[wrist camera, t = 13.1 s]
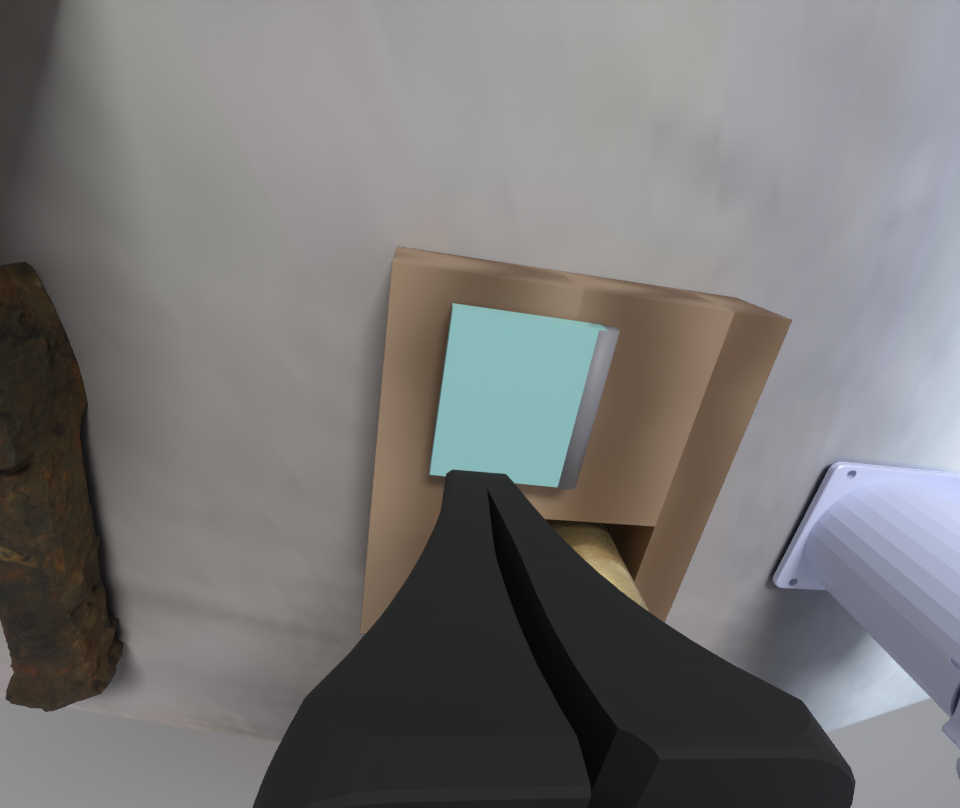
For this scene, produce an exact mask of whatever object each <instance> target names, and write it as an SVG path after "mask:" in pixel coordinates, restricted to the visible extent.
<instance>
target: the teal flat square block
mask: <svg viewBox="0 0 960 808" xmlns="http://www.w3.org/2000/svg"><path fill="white" fill-rule="evenodd" d="M619 333H620V330H619V329H617V328H615V327H612V326H609V325H605V324H599V323H587V322H580V321H573V320H566V319H560V318H553V317H546V316H539V315H532V314H525V313H518V312H511V311H504V310H497V309H490V308H483V307H476V306H469V305H462V304H455V303H452V310H451V317H450V324H449V331H448V338H447V346H446V353H445V360H444V367H443V374H442V382H441V389H440V396H439V403H438V410H437V417H436V425H435V432H434V439H433V446H432V453H431V461H430V475H438V476H446V473H448V472H449V471H451V470H452V469H453V470H465V471H477V472H489V473H502V474H507V475H508V477H509V478H510V479H511V480H512V481H513V482H514V483H518V484H528V485H538V486H548V487H558V488H560V489H564V490H572V489H574V488H575V487H576V485H577V481H578V478H579V474H580V471H581V467H582V464H583V460H584V457H585V453H586V450H587V446H588V442H589V439H590V435H591V432H592V428H593V425H594V421H595V418H596V414H597V411H598V407H599V404H600V400H601V396H602V393H603V389H604V386H605V382H606V379H607V375H608V372H609V368H610V365H611V361H612V357H613V354H614V350H615V347H616V343H617V340H618V336H619Z"/></svg>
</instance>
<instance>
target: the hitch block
mask: <svg viewBox="0 0 960 808" xmlns="http://www.w3.org/2000/svg"><path fill="white" fill-rule="evenodd" d="M452 303H455V304H462V305H469V306H476V307H483V308H490V309H497V310H504V311H511V312H518V313H525V314H532V315H539V316H546V317H553V318H560V319H566V320H573V321H580V322H587V323H599V324H605V325H609V326H612V327H615V328H617V329H619V330H620V333H619V336H618V340H617V343H616V347H615V350H614V354H613V357H612V361H611V365H610V368H609V372H608V375H607V379H606V382H605V386H604V389H603V393H602V396H601V400H600V404H599V407H598V411H597V414H596V418H595V421H594V425H593V428H592V432H591V435H590V439H589V442H588V446H587V450H586V453H585V457H584V460H583V464H582V467H581V471H580V474H579V478H578V481H577V485H576V487H575V488H574V489H572V490H564V489H560V488H558V487H548V486H538V485H528V484H518V483H514V484H515V485H516V486H517V487H518V488H519V490H520V491H521V492H522V493H523V494H524V496H525V497H526V498H527V499H528V500H529V502H530V503H531V504H532V505H533V506H534V507H535V509H536V510H537V511H538V512H539V513H540V514H541V515H542V517H543V518H544V519H552V520H567V521H582V522H596V523H610V526H609V529H608V533H609V535H610V537H611V538H612V540H613V542H614V544H615V546H616V548H617V550H618V552H619V554H620V556H621V558H622V560H623V562H624V564H625V565H626V567H627V569H628V571H629V573H630V575H631V577H632V579H633V581H634V583H635V585H636V587H637V589H638V590H639V592H640V594H641V596H642V598H643V600H644V602H645V604H646V606H647V608H648V610H649V612H650V613H651V614H653V615H654V616H656V617H657V618H659V619H660V620H661V621H663V622H664V623H665V620H666V618H667V615H668V613H669V611H670V608H671V606H672V604H673V601H674V599H675V596H676V594H677V592H678V589H679V587H680V585H681V582H682V580H683V578H684V575H685V573H686V570H687V568H688V566H689V563H690V561H691V559H692V556H693V554H694V551H695V549H696V547H697V544H698V542H699V540H700V537H701V535H702V533H703V530H704V528H705V525H706V523H707V521H708V518H709V516H710V514H711V511H712V509H713V507H714V504H715V502H716V499H717V497H718V495H719V492H720V490H721V488H722V485H723V483H724V480H725V478H726V476H727V473H728V471H729V469H730V466H731V464H732V462H733V459H734V457H735V454H736V452H737V450H738V447H739V445H740V443H741V440H742V438H743V436H744V433H745V431H746V428H747V426H748V424H749V421H750V419H751V417H752V414H753V412H754V409H755V407H756V405H757V402H758V400H759V398H760V395H761V393H762V391H763V388H764V386H765V383H766V381H767V379H768V376H769V374H770V372H771V369H772V367H773V364H774V362H775V360H776V357H777V355H778V353H779V350H780V348H781V346H782V343H783V341H784V338H785V336H786V334H787V331H788V329H789V327H790V324H791V322H792V320H791V319H788V318H786V317H783V316H781V315H778V314H776V313H773V312H771V311H768V310H766V309H763V308H761V307H758V306H755V305H753V304H750V303H748V302H745V301H743V300H740V299H738V298H734V297H727V296H721V295H714V294H708V293H701V292H694V291H688V290H681V289H675V288H668V287H661V286H655V285H648V284H642V283H635V282H628V281H622V280H615V279H609V278H602V277H595V276H589V275H582V274H576V273H569V272H562V271H556V270H549V269H542V268H536V267H529V266H523V265H516V264H509V263H503V262H496V261H490V260H483V259H476V258H470V257H463V256H457V255H450V254H443V253H437V252H430V251H424V250H417V249H410V248H404V247H397V250H396V253H395V255H394V258H393V261H392V271H391V283H390V294H389V306H388V317H387V329H386V340H385V352H384V363H383V375H382V386H381V398H380V409H379V421H378V432H377V444H376V455H375V467H374V478H373V490H372V501H371V513H370V524H369V536H368V547H367V559H366V570H365V582H364V593H363V605H362V616H361V628H360V634H366V633H367V632H368V631H369V629H370V628H371V627H372V626H373V625H374V623H375V622H376V621H377V620H378V619H379V617H380V616H381V615H382V614H383V612H384V611H385V610H386V608H387V607H388V606H389V604H390V603H391V601H392V600H393V599H394V597H395V596H396V594H397V593H398V591H399V590H400V588H401V587H402V585H403V584H404V583H405V581H406V579H407V578H408V576H409V575H410V573H411V571H412V570H413V568H414V566H415V565H416V563H417V561H418V559H419V557H420V556H421V554H422V552H423V550H424V548H425V546H426V544H427V542H428V540H429V537H430V535H431V533H432V531H433V529H434V527H435V524H436V522H437V519H438V516H439V514H440V511H441V504H442V498H443V492H444V485H445V479H446V476H438V475H430V461H431V453H432V446H433V439H434V432H435V425H436V417H437V410H438V403H439V396H440V389H441V382H442V374H443V367H444V360H445V353H446V346H447V338H448V331H449V324H450V317H451V310H452Z"/></svg>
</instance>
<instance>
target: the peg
mask: <svg viewBox="0 0 960 808" xmlns="http://www.w3.org/2000/svg"><path fill="white" fill-rule="evenodd" d="M545 520H546V521H547V522H548V523H549V524H550V525H551V527H552V528H553V529H554V530H555V531H556V532H557V533H558V534H559V535H560V536H561V537H562V538H563V539H564V540H565V541H566V542H567V543H568V544H569V545H570V546H571V547H572V548H573V549H574V550H575V551H576V552H577V553H578V554H579V555H580V556H581V557H582V558H583V559H584V560H585V561H586V562H587V563H589V564H590V565H591V566H592V567H593V568H594V569H595V570H596V571H597V572H599V573H600V574H601V575H602V576H604V577H605V578H606V579H607V580H608V581H610V582H611V583H612V584H613V585H614V586H616V587H617V588H618V589H619V590H620V591H622V592H623V593H624V594H625V595H627V596H628V597H629V598H631V599H632V600H633V601H635V602H636V603H637V604H639V605H640V606H641V607H643V608H644V609H646V610H647V611H649V610H648V608H647V606H646V604H645V602H644V600H643V598H642V596H641V594H640V592H639V590H638V589H637V587H636V585H635V583H634V581H633V579H632V577H631V575H630V573H629V571H628V569H627V567H626V565H625V564H624V562H623V560H622V558H621V556H620V554H619V552H618V550H617V548H616V546H615V544H614V542H613V540H612V538H611V537H610V535H609V533H608V531H607V529H606V527H605V525H604V523H596V522H582V521H567V520H552V519H545Z"/></svg>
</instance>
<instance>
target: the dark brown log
mask: <svg viewBox="0 0 960 808" xmlns="http://www.w3.org/2000/svg"><path fill="white" fill-rule="evenodd" d="M87 406H88V404H87V398H86V393H85V389H84V384H83V380H82V377H81V373H80V370H79V366H78V363H77V360H76V358H75V355H74V353H73V350H72V348H71V345H70V342H69V340H68V338H67V335H66V333H65V330H64V328H63V326H62V323H61V321H60V319H59V317H58V315H57V313H56V311H55V309H54V307H53V304H52V302H51V300H50V298H49V296H48V295H47V293H46V291H45V289H44V288H43V286H42V284H41V282H40V280H39V278H38V276H37V274H36V272H35V270H34V269H33V268H32V267H31V266H30V265H29V264H27V263H26V262H21V263H13V264H9V265H2V266H0V620H1V623H2V627H3V633H4V635H5V638H6V642H7V643H8V649H9V650H10V657H11V660H12V665H10V666H11V667H12V668H13V671H14V674H13V675H12V677H11V679H10V682H9V685H8V688H7V691H6V693H7V694H6V700H8V701H10V703H12V704H16V705H22V706H26V707H29V708H42V709H43V710H44V711H45V712H48V711H54V710H57V709H60V708H63V707H65V706H67V705H70V704H72V703H75V702H78V701H81V700H84V699H87V698H90V697H93V696H96V695H99V694H101V693H102V691H103V690H104V689H105V688H106V687H107V686H108V684H109V683H110V681H111V680H112V678H113V676H114V674H115V672H116V664H117V662H118V660H119V659H120V657H121V655H122V650H123V643H122V642H121V641H120V640H119V639H117V638H115V637H114V634H115V630H116V627H117V620H118V619H117V618H114V617H109V616H108V611H107V607H106V593H105V589H104V585H103V583H102V581H101V576H100V568H99V560H98V549H99V545H100V538H99V537H98V536H97V535H96V534H95V529H94V523H93V510H92V507H91V505H90V502H89V496H88V490H87V483H86V476H85V466H84V460H83V453H82V447H81V441H80V429H81V421H82V415H83V412H84V411H85V409H86V408H87Z"/></svg>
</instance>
